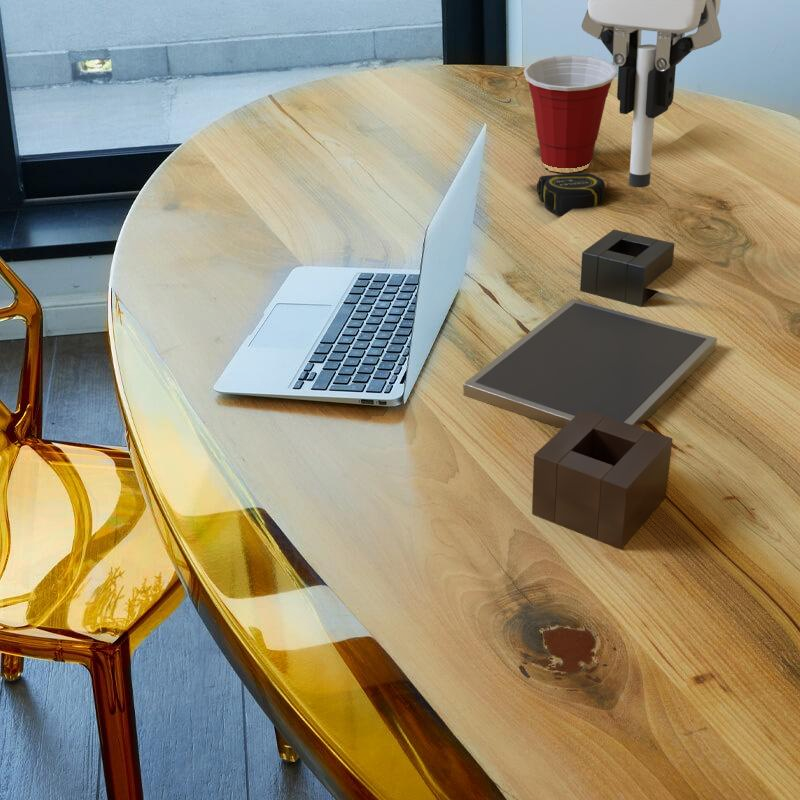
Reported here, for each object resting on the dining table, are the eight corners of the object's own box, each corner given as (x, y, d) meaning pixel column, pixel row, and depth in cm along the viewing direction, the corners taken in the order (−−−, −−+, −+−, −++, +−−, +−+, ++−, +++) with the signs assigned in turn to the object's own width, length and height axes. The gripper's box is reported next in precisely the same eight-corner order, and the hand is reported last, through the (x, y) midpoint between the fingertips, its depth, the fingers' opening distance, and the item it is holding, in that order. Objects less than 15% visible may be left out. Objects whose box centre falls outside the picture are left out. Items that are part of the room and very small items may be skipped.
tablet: (715, 349, 92) (717, 337, 92) (619, 448, 80) (620, 435, 80) (571, 309, 100) (572, 298, 99) (463, 395, 88) (463, 382, 87)
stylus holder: (670, 281, 104) (674, 243, 102) (641, 307, 100) (644, 267, 97) (610, 266, 107) (613, 229, 105) (579, 290, 103) (581, 252, 101)
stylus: (653, 182, 97) (663, 45, 90) (644, 189, 95) (653, 50, 89) (634, 179, 98) (643, 43, 91) (625, 185, 96) (633, 48, 90)
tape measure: (595, 198, 123) (597, 167, 121) (610, 221, 117) (612, 188, 115) (536, 202, 122) (536, 170, 120) (547, 225, 116) (549, 192, 114)
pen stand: (666, 497, 75) (672, 438, 72) (621, 550, 71) (627, 488, 68) (579, 466, 79) (582, 408, 76) (531, 514, 74) (533, 454, 71)
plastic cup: (517, 181, 128) (519, 79, 122) (525, 150, 137) (527, 54, 131) (610, 183, 126) (617, 80, 120) (611, 152, 135) (618, 55, 129)
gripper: (777, -128, 82) (749, 112, 91) (591, -131, 90) (584, 90, 100) (738, -116, 77) (713, 137, 86) (546, -120, 85) (542, 111, 95)
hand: (644, 110), depth 93 cm, fingers closed on stylus, 1 cm apart
